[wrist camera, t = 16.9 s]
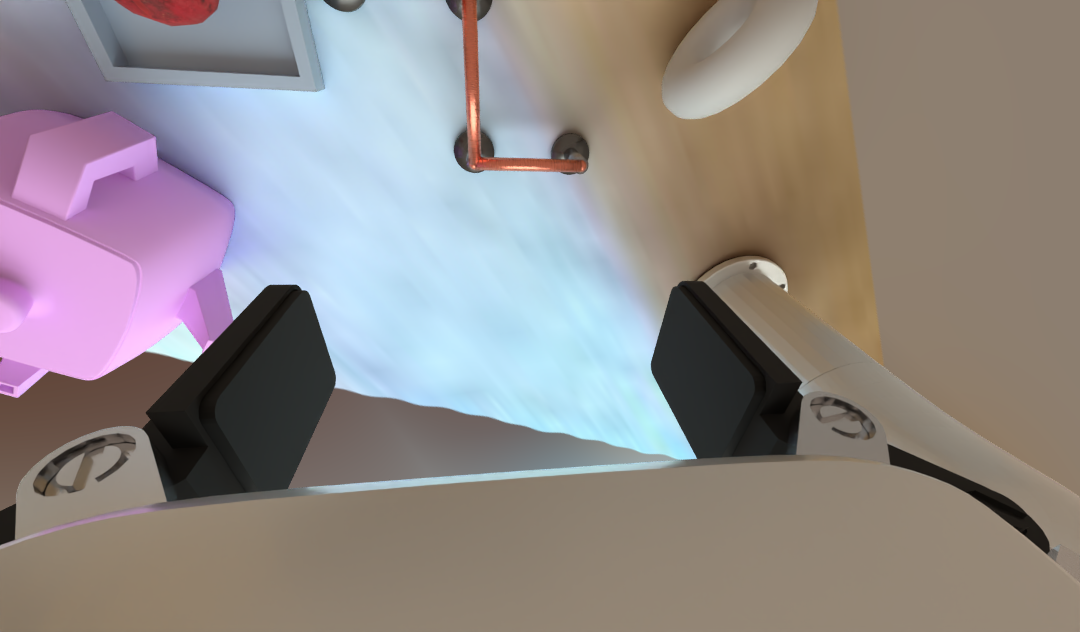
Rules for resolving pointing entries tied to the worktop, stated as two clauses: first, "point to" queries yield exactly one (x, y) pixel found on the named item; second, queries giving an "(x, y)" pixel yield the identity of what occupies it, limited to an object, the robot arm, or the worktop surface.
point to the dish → (205, 46)
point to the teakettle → (100, 247)
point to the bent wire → (474, 145)
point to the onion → (172, 10)
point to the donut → (732, 53)
